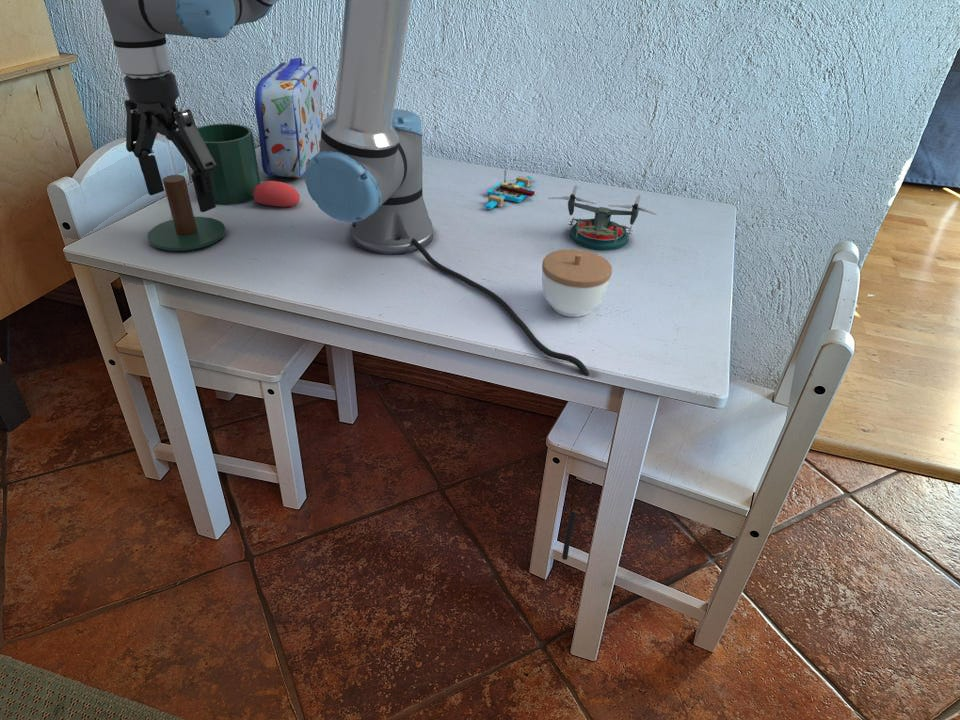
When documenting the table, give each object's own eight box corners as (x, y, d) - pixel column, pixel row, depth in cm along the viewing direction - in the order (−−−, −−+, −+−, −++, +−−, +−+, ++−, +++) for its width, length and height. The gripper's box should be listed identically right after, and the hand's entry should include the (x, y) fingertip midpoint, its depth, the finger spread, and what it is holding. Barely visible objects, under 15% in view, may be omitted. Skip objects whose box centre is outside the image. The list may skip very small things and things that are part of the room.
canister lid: (241, 233, 122) (230, 175, 116) (182, 260, 113) (166, 199, 106) (193, 216, 127) (180, 159, 121) (133, 241, 118) (115, 181, 111)
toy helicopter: (653, 233, 129) (661, 192, 124) (646, 268, 117) (655, 225, 112) (554, 217, 133) (558, 178, 128) (537, 250, 121) (541, 207, 116)
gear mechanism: (551, 186, 147) (514, 177, 151) (553, 162, 144) (515, 154, 148) (511, 216, 133) (471, 206, 136) (513, 191, 130) (472, 181, 133)
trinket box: (598, 291, 110) (606, 240, 104) (610, 326, 101) (620, 272, 96) (534, 289, 109) (540, 238, 104) (541, 325, 101) (547, 271, 95)
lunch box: (288, 144, 163) (275, 48, 150) (329, 145, 164) (320, 50, 151) (259, 185, 141) (241, 77, 128) (308, 187, 141) (295, 79, 128)
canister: (273, 190, 139) (264, 131, 132) (229, 209, 131) (216, 147, 123) (233, 178, 144) (222, 120, 137) (187, 195, 136) (173, 134, 128)
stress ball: (283, 221, 130) (295, 192, 128) (243, 198, 130) (255, 169, 128) (294, 219, 135) (306, 191, 133) (256, 197, 135) (267, 169, 133)
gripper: (221, 79, 101) (247, 209, 113) (120, 58, 111) (154, 180, 124) (181, 89, 96) (213, 224, 108) (78, 66, 106) (118, 192, 118)
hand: (181, 201), depth 116 cm, fingers open, 13 cm apart
